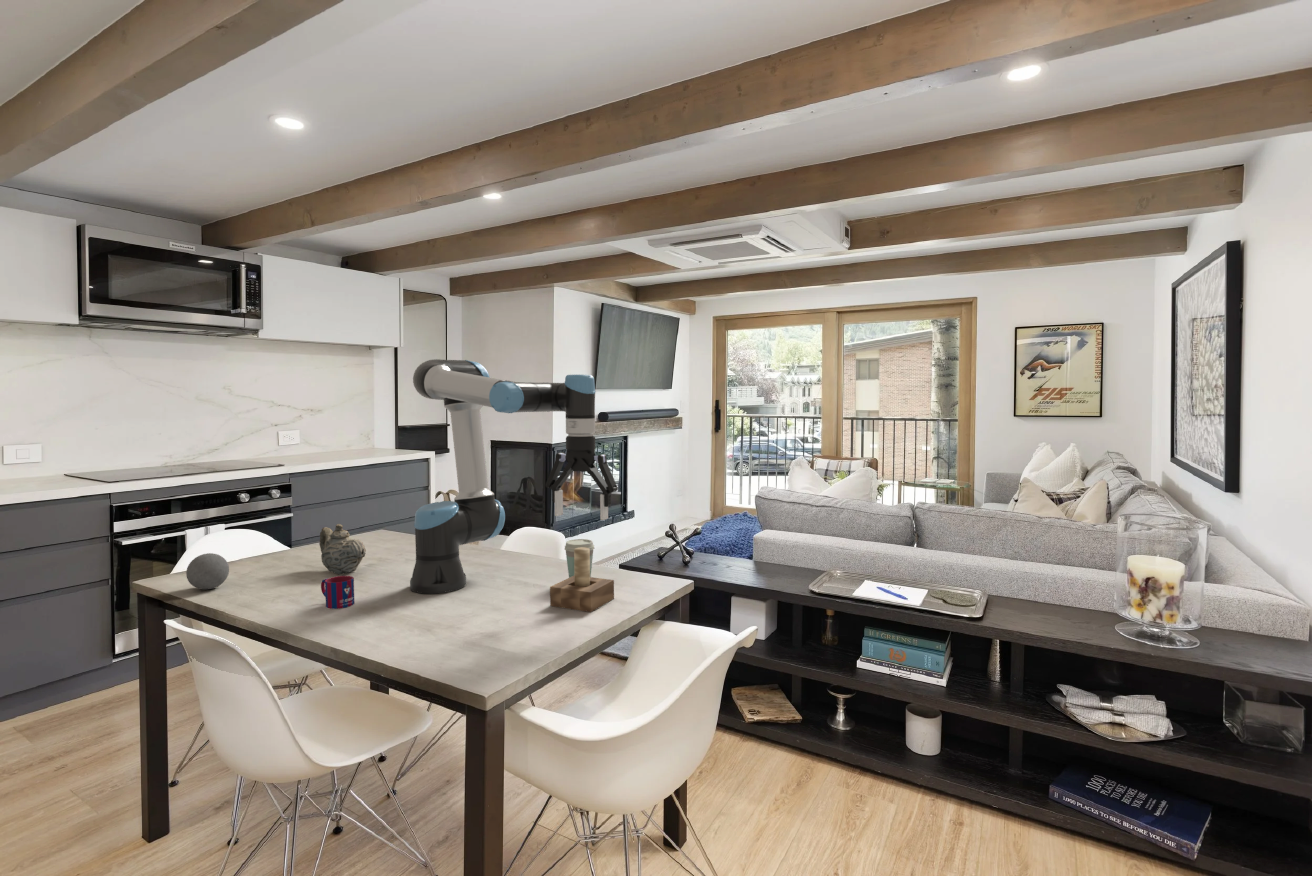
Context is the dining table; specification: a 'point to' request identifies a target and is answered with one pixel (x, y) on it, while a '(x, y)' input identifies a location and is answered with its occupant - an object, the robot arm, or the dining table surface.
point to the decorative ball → (207, 571)
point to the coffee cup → (570, 552)
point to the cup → (338, 591)
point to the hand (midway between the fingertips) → (581, 517)
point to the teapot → (340, 550)
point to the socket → (582, 594)
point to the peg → (582, 567)
